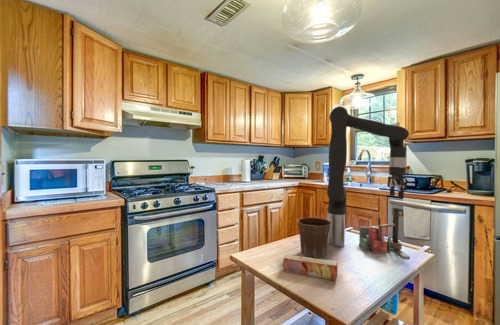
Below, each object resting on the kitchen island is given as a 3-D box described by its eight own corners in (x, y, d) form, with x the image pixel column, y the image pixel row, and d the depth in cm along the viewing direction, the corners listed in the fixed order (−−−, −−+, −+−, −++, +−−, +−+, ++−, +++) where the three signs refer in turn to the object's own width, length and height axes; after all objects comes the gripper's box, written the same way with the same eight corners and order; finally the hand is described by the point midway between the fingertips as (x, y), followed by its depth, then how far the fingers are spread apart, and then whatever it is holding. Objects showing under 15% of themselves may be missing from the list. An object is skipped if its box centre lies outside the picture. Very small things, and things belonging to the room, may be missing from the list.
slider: (374, 252, 118) (375, 209, 118) (367, 246, 127) (368, 205, 126) (405, 254, 117) (406, 210, 117) (396, 247, 126) (397, 206, 125)
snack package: (282, 273, 97) (282, 256, 97) (285, 266, 103) (285, 251, 103) (337, 283, 89) (337, 266, 89) (337, 275, 96) (337, 259, 95)
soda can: (382, 248, 126) (382, 225, 125) (384, 253, 119) (385, 229, 119) (367, 246, 128) (367, 224, 128) (369, 250, 122) (369, 227, 121)
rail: (403, 258, 113) (403, 256, 113) (387, 246, 128) (387, 244, 128) (409, 258, 113) (409, 256, 113) (393, 246, 128) (393, 244, 128)
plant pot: (290, 253, 117) (290, 221, 116) (306, 244, 129) (306, 215, 128) (321, 263, 106) (322, 228, 105) (335, 253, 118) (336, 221, 117)
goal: (366, 251, 121) (366, 232, 121) (359, 244, 130) (359, 226, 130) (390, 252, 120) (391, 233, 120) (381, 245, 129) (382, 227, 129)
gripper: (383, 165, 130) (382, 194, 130) (397, 166, 116) (396, 199, 116) (397, 165, 129) (396, 195, 130) (413, 166, 115) (412, 199, 115)
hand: (396, 197), depth 123 cm, fingers open, 8 cm apart
